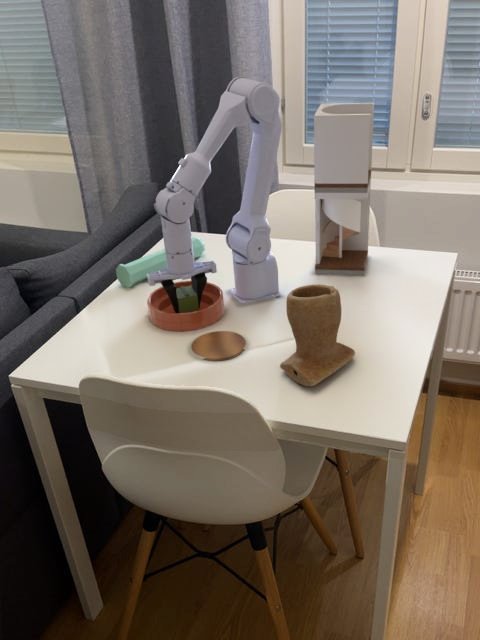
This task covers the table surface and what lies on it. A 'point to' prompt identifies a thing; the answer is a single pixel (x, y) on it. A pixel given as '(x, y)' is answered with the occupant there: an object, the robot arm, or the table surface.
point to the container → (150, 265)
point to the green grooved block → (187, 299)
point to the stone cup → (315, 334)
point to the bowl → (172, 321)
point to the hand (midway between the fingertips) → (186, 309)
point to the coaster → (218, 345)
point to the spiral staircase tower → (342, 186)
